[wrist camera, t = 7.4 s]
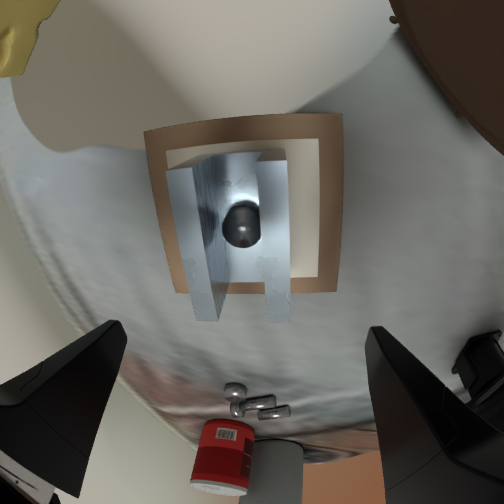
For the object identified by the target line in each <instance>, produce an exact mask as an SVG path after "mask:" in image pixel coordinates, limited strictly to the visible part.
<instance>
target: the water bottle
mask: <svg viewBox="0 0 504 504" xmlns="http://www.w3.org/2000/svg"><path fill="white" fill-rule="evenodd" d="M302 488H303V449H302V447H301V446H300V445H298V444H296V443H293V442H289V441H283V440H264V441H258V442H255V443H254V446H253V454H252V463H251V471H250V479H249V486H248V491H247V494H246V495H242V496H240V498H239V504H302Z"/></svg>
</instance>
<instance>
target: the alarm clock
mask: <svg viewBox="0 0 504 504" xmlns="http://www.w3.org/2000/svg"><path fill="white" fill-rule="evenodd" d="M389 2H390V4H391V7H392V9H393V12H394V14H395V16H396V17H395V16H391V17H390V18H389V19H390V22H392V23H393V24H397V23H399V25H400V27H401V29H402V31H403V32H404V34H405V36H406V38H407V40H408V41H409V43H410V45H411V46H412V48H413V50H414V51H415V53H416V54H417V56H418V58H419V59H420V61H421V62H422V64H423V65H424V67H425V68H426V69H427V71H428V72H429V74H430V75H431V77H432V78H433V79H434V81H435V82H436V83H437V85H438V86H439V87H440V89H441V90H442V91H443V92H444V94H445V95H446V96H447V97H448V99H449V100H450V101H451V102H452V104H453V105H454V106H455V107H456V108H457V110H455V115H456V116H457V117H459V118H460V117H462V115H463V117H464V118H465V119H466V120H467V121H468V122H469V123H470V124H471V125H472V126H473V127H474V128H475V129H476V131H477V132H478V133H479V134H480V135H481V136H482V137H483V138H484V139H485V140H487V141H488V142H489V143H490V144H491V145H492V146H493V147H494V148H495V149H496V150H497V151H499V152H500V153H501V154H502V155H503V156H504V0H389Z"/></svg>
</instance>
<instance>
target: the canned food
mask: <svg viewBox="0 0 504 504" xmlns="http://www.w3.org/2000/svg"><path fill="white" fill-rule="evenodd" d="M254 437H255V436H254V432H253V429H252V428H251V427H249V426H248V425H246V424H244V423H241V422H238V421H233V420H224V419H218V420H212V421H209V422H207V423H206V424H205V426H204V428H203V431H202V435H201V439H200V443H199V447H198V451H197V455H196V459H195V464H194V467H193V471H192V475H191V480H190V485H191V486H192V487H194V488H196V489H199V490H202V491H205V492H209V493H214V494H220V495H229V496H242V495H246V494H247V491H248V486H249V479H250V471H251V463H252V454H253V446H254Z"/></svg>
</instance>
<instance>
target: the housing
mask: <svg viewBox="0 0 504 504" xmlns="http://www.w3.org/2000/svg"><path fill="white" fill-rule="evenodd" d="M165 172H166V178H167V185H168V191H169V197H170V202H171V208H172V213H173V219H174V224H175V229H176V234H177V239H178V244H179V249H180V253H181V258H182V263H183V267H184V271H185V276H186V280H187V284H188V289H189V293H190V297H191V301H192V305H193V309H194V313H195V316H196V320H197V321H218V320H219V316H220V313H221V310H222V306H223V303H224V300H225V296H226V293H227V290H228V286H229V283H230V282H264V283H265V299H266V314H267V322H290V232H289V200H288V176H287V159H286V153H285V148H281V149H260V150H245V151H232V152H222V153H212V154H203V155H197V156H195V157H193V158H191V159H189V160H187V161H184V162H182V163H180V164H178V165H176V166H174V167H172V168H170V169H168V170H166V171H165Z"/></svg>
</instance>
